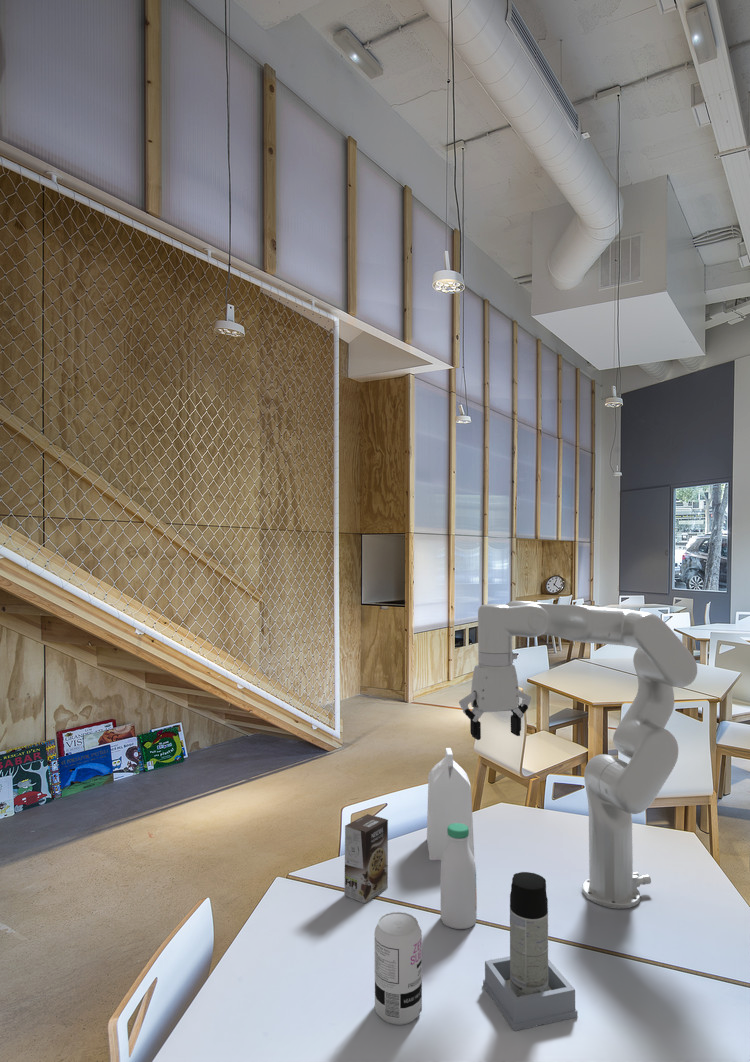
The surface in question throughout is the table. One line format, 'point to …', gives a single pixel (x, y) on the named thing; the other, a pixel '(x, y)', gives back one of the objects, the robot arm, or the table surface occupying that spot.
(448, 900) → the milk bottle
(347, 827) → the coffee box
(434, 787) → the milk
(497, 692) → the robot arm
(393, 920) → the supplement can
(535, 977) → the spray can
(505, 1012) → the holder
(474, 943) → the table surface
